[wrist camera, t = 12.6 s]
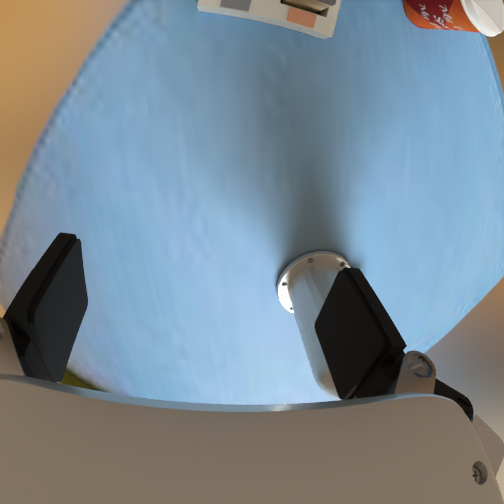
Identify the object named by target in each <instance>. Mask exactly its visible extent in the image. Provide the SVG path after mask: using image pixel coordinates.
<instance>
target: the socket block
mask: <svg viewBox="0 0 504 504" xmlns="http://www.w3.org/2000/svg"><path fill="white" fill-rule="evenodd" d="M340 4H341V0H337V1H336V4H335V5H333V6H329V7H327V8H325V9H324V10H322V11H320V15H318V14H315V13H311V12H308V11H305V10H302V9H299V8H295V7H292V6H288V5H285V4H281V3H280V0H199V1H198V4H197V7H198V11H201V12H209V13H216V14H223V15H229V16H235V17H240V18H245V19H250V20H255V21H260V22H264V23H268V24H272V25H276V26H280V27H284V28H288V29H291V30H295V31H298V32H302V33H305V34H308V35H311V36H314V37H317V38H320V39H327V38H330V37H332V36H333V32H334V28H335V24H336V20H337V16H338V12H339V8H340Z"/></svg>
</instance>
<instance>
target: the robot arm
mask: <svg viewBox="0 0 504 504" xmlns="http://www.w3.org/2000/svg"><path fill="white" fill-rule="evenodd" d="M277 294H278V298H279V300H280V302H281V304H282V305H283V306H284V308H285V309H287V310H288V311H290V312H292V313H294V316H295V319H296V322H297V325H298V328H299V331H300V334H301V338H302V341H303V344H304V347H305V350H306V353H307V357H308V360H309V363H310V366H311V369H312V373H313V376H314V379H315V381H316V383H317V384H318V386H319V387H320V388H321V389H322V390H323V391H324V392H325V393H327V394H328V395H330V396H332V397H333V398H336V399H338V400H339V401H329V402H316V403H300V404H276V405H227V404H203V403H188V402H175V401H164V400H155V399H146V398H138V397H131V396H124V395H118V394H112V393H106V392H100V391H95V390H89V389H84V388H79V387H74V386H69V385H64V384H60V383H57V381H58V382H61V381H62V379H63V376H64V372H65V369H66V366H67V363H68V359H69V356H70V353H71V350H72V347H73V344H74V342H75V339H76V336H77V333H78V330H79V328H80V325H81V322H82V319H83V317H84V314H85V312H86V309H87V305H88V297H87V290H86V283H85V276H84V268H83V259H82V249H81V241H80V239H77V238H76V235H75V234H69V233H59V234H58V235H57V237H56V238H55V239H54V241H53V242H52V244H51V245H50V246H49V248H48V249H47V250H46V252H45V253H44V255H43V256H42V257H41V259H40V260H39V262H38V263H37V265H36V266H35V267H34V269H33V270H32V271H31V273H30V274H29V276H28V277H27V279H26V280H25V282H24V283H23V285H22V286H21V288H20V290H19V291H18V293H17V294H16V296H15V298H14V299H13V301H12V303H11V304H10V306H9V308H8V309H7V311H6V313H5V315H4V316H3V318H1V317H0V504H504V502H503V499H502V495H501V492H500V489H499V486H498V483H497V480H496V478H495V477H496V474H497V472H498V470H499V467H500V465H501V462H502V459H503V457H504V443H503V441H502V440H501V438H500V437H499V436H498V435H497V434H496V433H495V432H494V431H493V430H492V429H491V428H490V427H489V426H488V425H486V423H484V422H483V420H482V419H480V418H479V417H478V416H477V415H474V416H473V407H472V405H471V402H470V400H469V399H468V398H467V397H465V396H464V395H463V394H461V393H459V392H458V391H456V390H454V389H453V388H451V387H449V386H448V385H446V384H444V383H443V382H441V381H439V380H437V379H436V369H435V366H434V364H433V362H432V361H431V360H430V359H429V358H428V357H427V356H426V355H424V354H423V353H421V352H418V351H408V352H407V353H406V354H405V353H404V351H403V350H404V348H405V347H406V346H407V345H406V344H405V342H404V340H403V338H402V337H401V335H400V333H399V332H398V330H397V328H396V326H395V325H394V323H393V321H392V320H391V318H390V316H389V315H388V313H387V311H386V310H385V308H384V307H383V305H382V303H381V302H380V300H379V299H378V297H377V295H376V294H375V292H374V291H373V289H372V287H371V286H370V284H369V283H368V281H367V280H366V278H365V277H364V275H363V273H362V272H361V270H360V269H357V268H351V267H350V265H349V264H348V262H347V261H346V260H345V259H344V258H343V257H342V256H340V255H339V254H337V253H334V252H330V251H315V252H310V253H307V254H305V255H302V256H300V257H299V258H297V259H295V260H294V261H293V262H291V263H290V264H289V265H288V266H287V267H286V268H285V269H284V270H283V272H282V274H281V275H280V277H279V280H278V283H277Z"/></svg>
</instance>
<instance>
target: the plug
mask: <svg viewBox="0 0 504 504" xmlns="http://www.w3.org/2000/svg"><path fill="white" fill-rule="evenodd" d="M336 1H337V0H283V2H282V4H285V5H288V6H292V7H295V8H299V9H302V10H305V11H308V12H311V13H315V14H316V13H318V12H320V11H322V10H324V9H325V8H327V7H329V6H333V5H335V4H336Z"/></svg>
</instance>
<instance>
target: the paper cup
mask: <svg viewBox="0 0 504 504" xmlns="http://www.w3.org/2000/svg"><path fill="white" fill-rule="evenodd" d="M404 11H405V13H406V15H407V17H408V19H409V20H410V21H411V22H412V23H413V24H414V25H416V26H418V27H420V28H426V29H445V30H459V31H470V32H479V33H483V34H484V35H487V36H495V35H497V34H499V33H501V32H502V31H503V30H504V4H503V2H502V0H404Z"/></svg>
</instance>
